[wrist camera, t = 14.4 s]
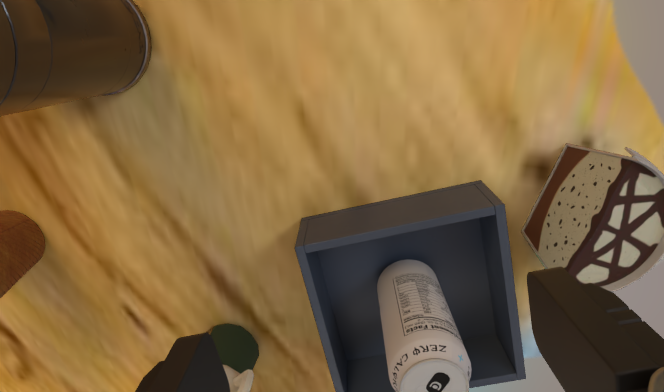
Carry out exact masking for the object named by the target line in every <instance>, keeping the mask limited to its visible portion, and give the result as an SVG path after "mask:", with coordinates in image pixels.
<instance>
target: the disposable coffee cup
mask: <svg viewBox="0 0 664 392" xmlns="http://www.w3.org/2000/svg"><path fill="white" fill-rule="evenodd" d="M44 250H45V240H44V237H43V234H42V232H41V230H40V229H39V227H38V226H37V225H36V224H35V223H34V222H33V221H32V220H31V219H30V218H28V217H27V216H25V215H23V214H21V213H18V212H15V211H9V210H7V211H0V298H1V297H2V296H3V295H4V294H5V293H6V292H7V291H8V290H9V289H10V288H11V287H12V286H13V285H14V284H15V283H16V282H17V281H18V280H19V279H20V278H21V277H22V276H23V275H25V273H26V272H27V271H29V269H30V268H32V267H33V266H34V264H36V263H37V262H38V261H39V260H40V259H41V257H42V256H43V253H44Z"/></svg>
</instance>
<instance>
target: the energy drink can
mask: <svg viewBox="0 0 664 392" xmlns="http://www.w3.org/2000/svg"><path fill="white" fill-rule="evenodd" d="M377 293H378V300H379V307H380V315H381V322H382V329H383V337H384V344H385V351H386V359H387V366H388V373H389V379H390V383H391V385H392V387H393V389H394V390H395V391H396V392H469V380H470V377H471V370H472V369H471V362H470V360H469V357H468V355H467V352H466V350H465V347H464V345H463V342H462V340H461V337H460V335H459V332H458V330H457V327H456V325H455V322H454V320H453V317H452V315H451V312H450V310H449V307H448V305H447V302H446V299H445V297H444V294H443V292H442V289H441V287H440V284H439V282H438V279H437V277H436V274H435V273H434V271H433V270H432V269H431V268H430V267H429V266H428V265H426V264H425V263H423V262H420V261H417V260H409V259H406V260H400V261H397V262H394V263H393V264H391V265H389V266H388V267H387V268H386V269H384V271H383V272H382V273H381V275H380V277H379V279H378V283H377Z"/></svg>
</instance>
